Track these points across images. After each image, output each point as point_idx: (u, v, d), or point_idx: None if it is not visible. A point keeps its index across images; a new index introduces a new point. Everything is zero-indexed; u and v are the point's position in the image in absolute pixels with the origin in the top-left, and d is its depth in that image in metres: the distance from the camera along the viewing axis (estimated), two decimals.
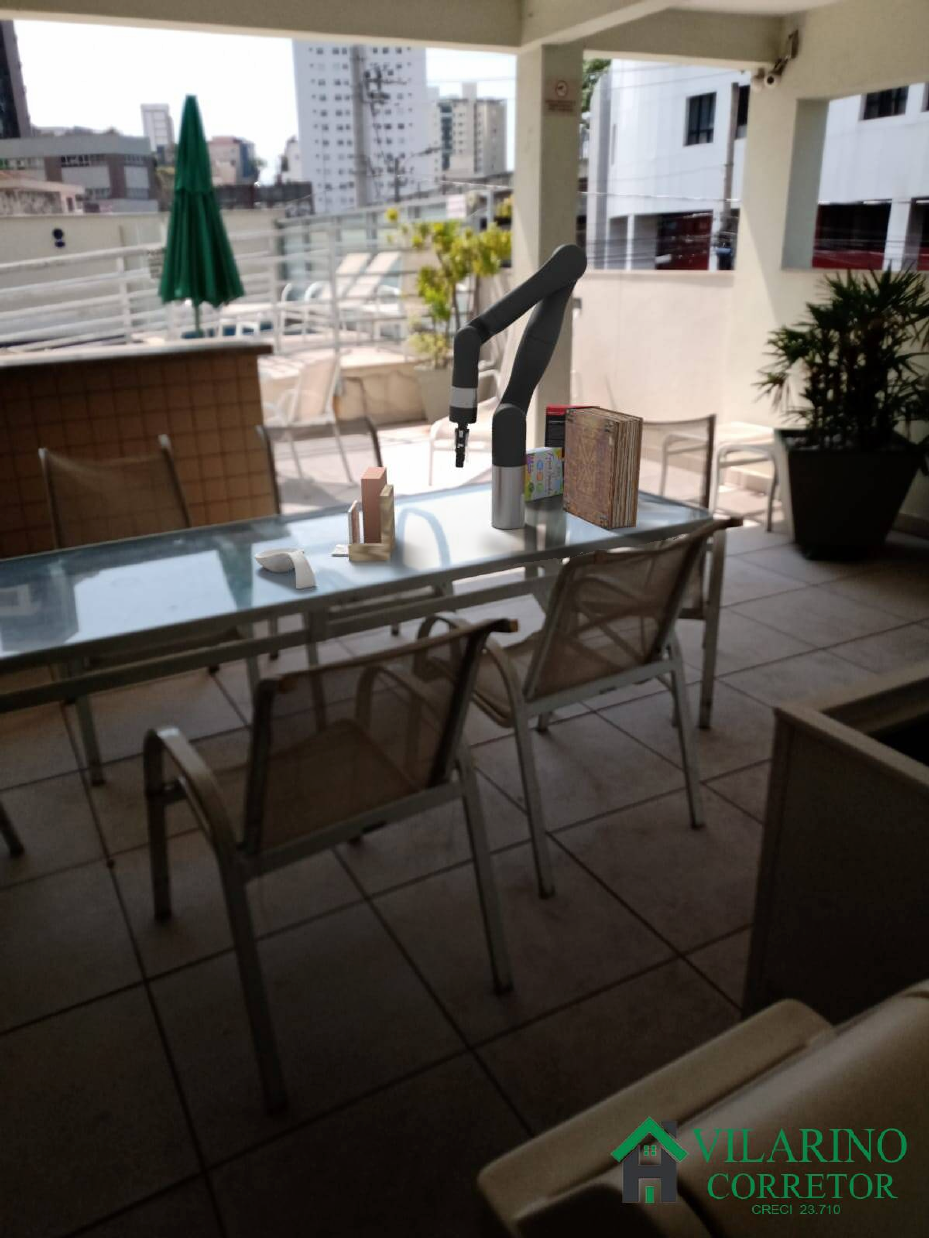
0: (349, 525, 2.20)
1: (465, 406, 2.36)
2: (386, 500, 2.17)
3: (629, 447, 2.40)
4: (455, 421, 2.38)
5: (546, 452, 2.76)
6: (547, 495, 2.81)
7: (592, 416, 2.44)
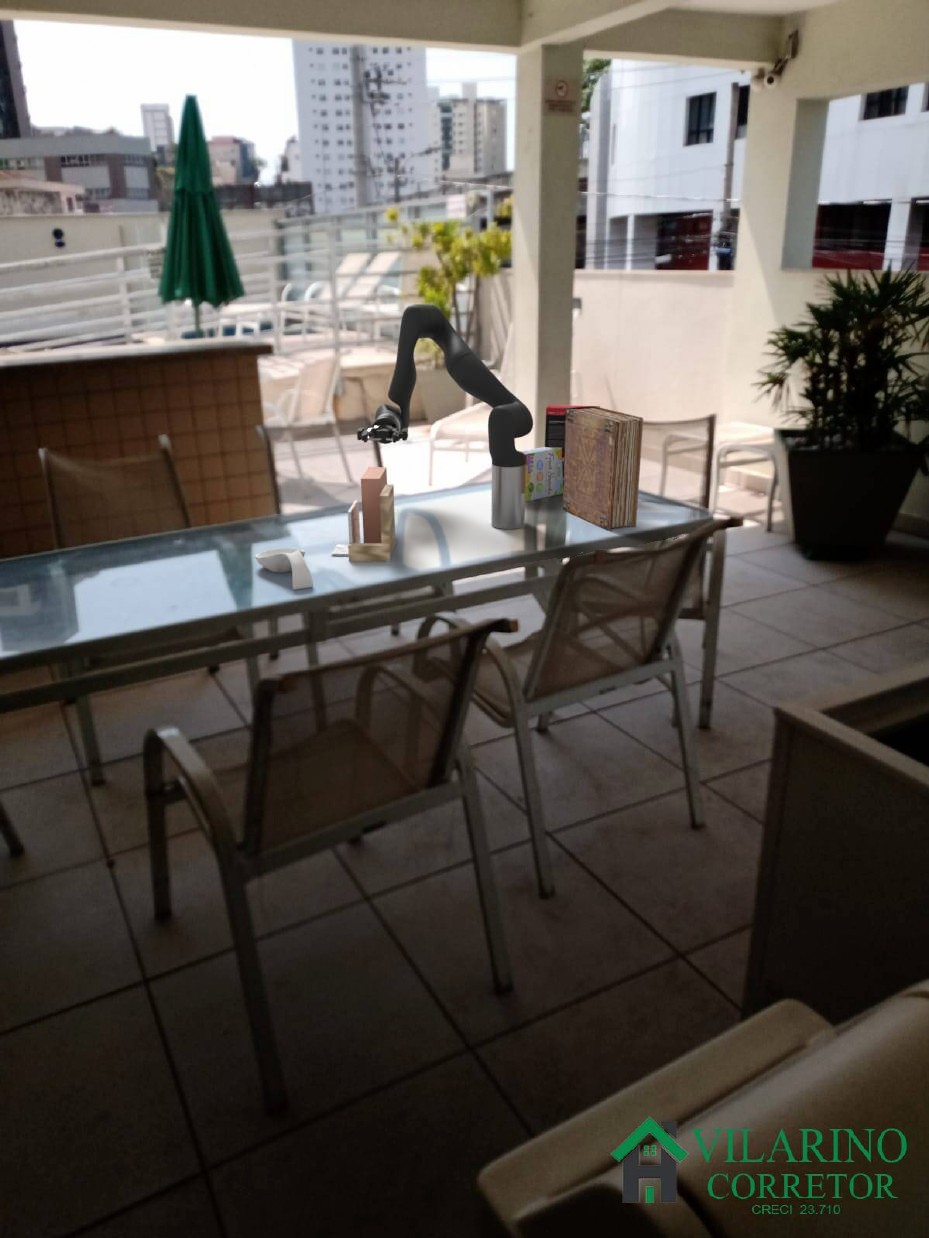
0: (349, 525, 2.20)
1: None
2: (386, 500, 2.17)
3: (629, 447, 2.40)
4: None
5: (546, 452, 2.75)
6: (547, 495, 2.81)
7: (592, 416, 2.44)
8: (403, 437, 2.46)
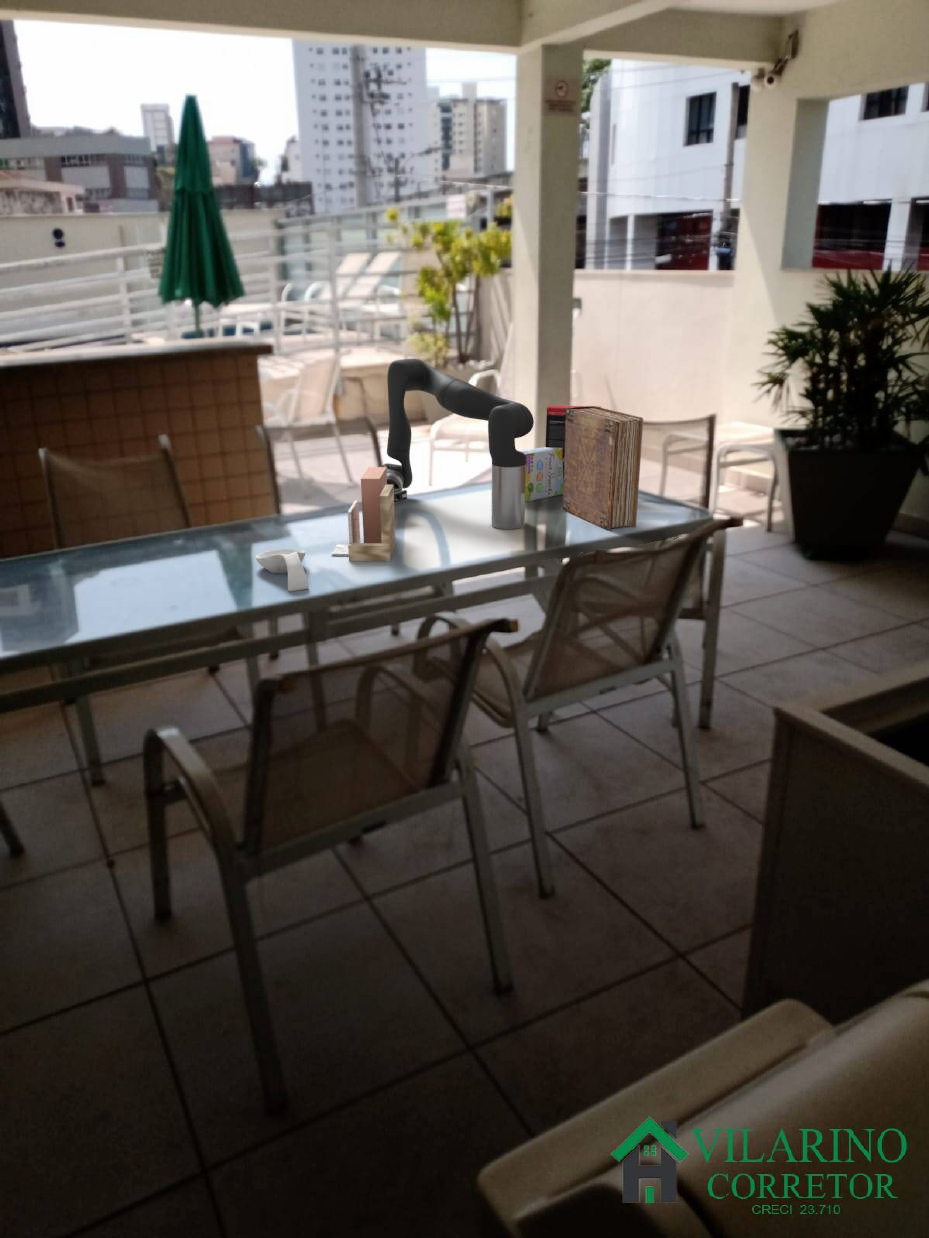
0: (349, 525, 2.20)
1: None
2: (386, 500, 2.17)
3: (629, 447, 2.40)
4: None
5: (546, 453, 2.75)
6: (547, 495, 2.80)
7: (592, 416, 2.44)
8: None
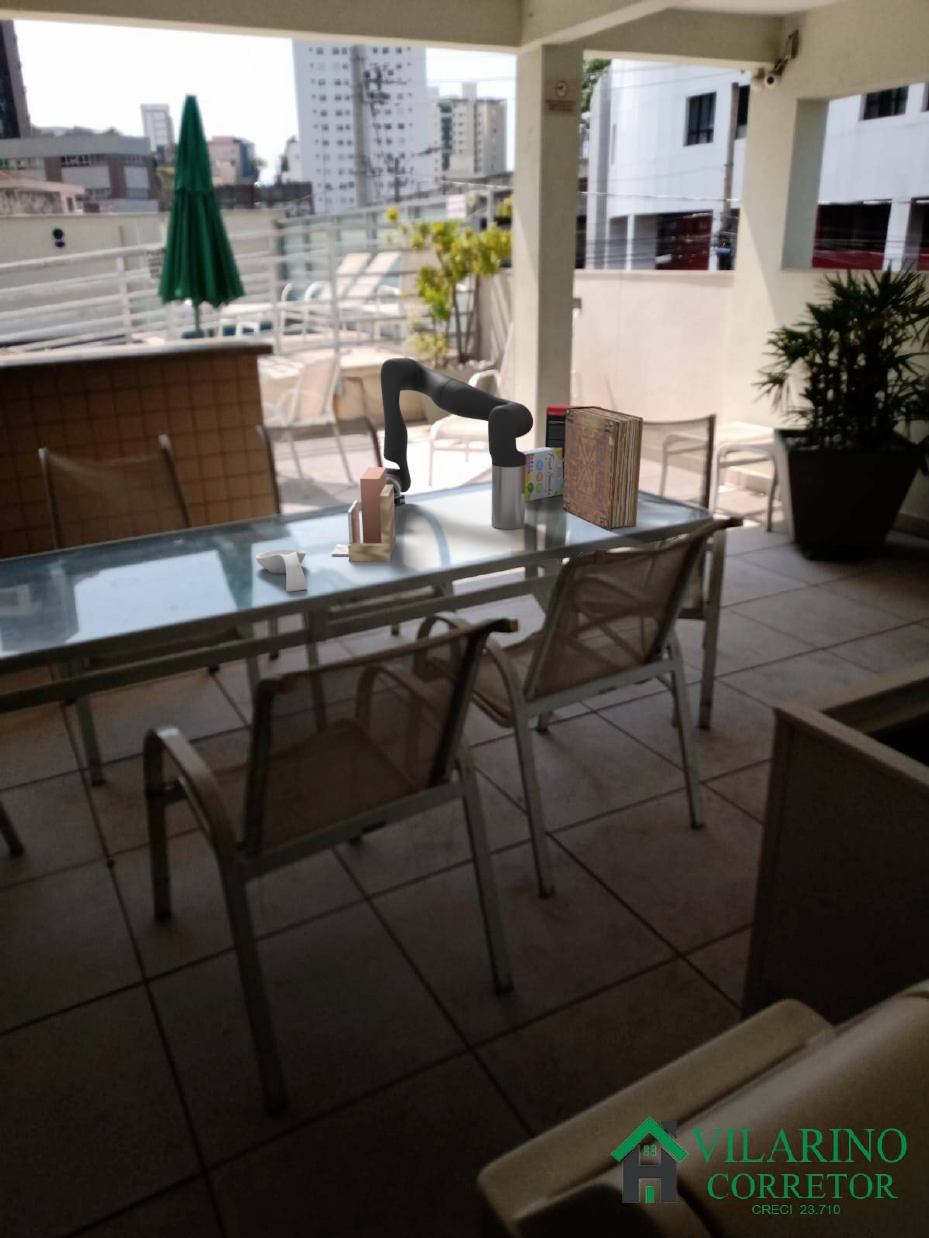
0: (349, 525, 2.20)
1: None
2: (386, 500, 2.17)
3: (629, 447, 2.40)
4: None
5: (546, 453, 2.75)
6: (547, 495, 2.80)
7: (592, 416, 2.44)
8: None
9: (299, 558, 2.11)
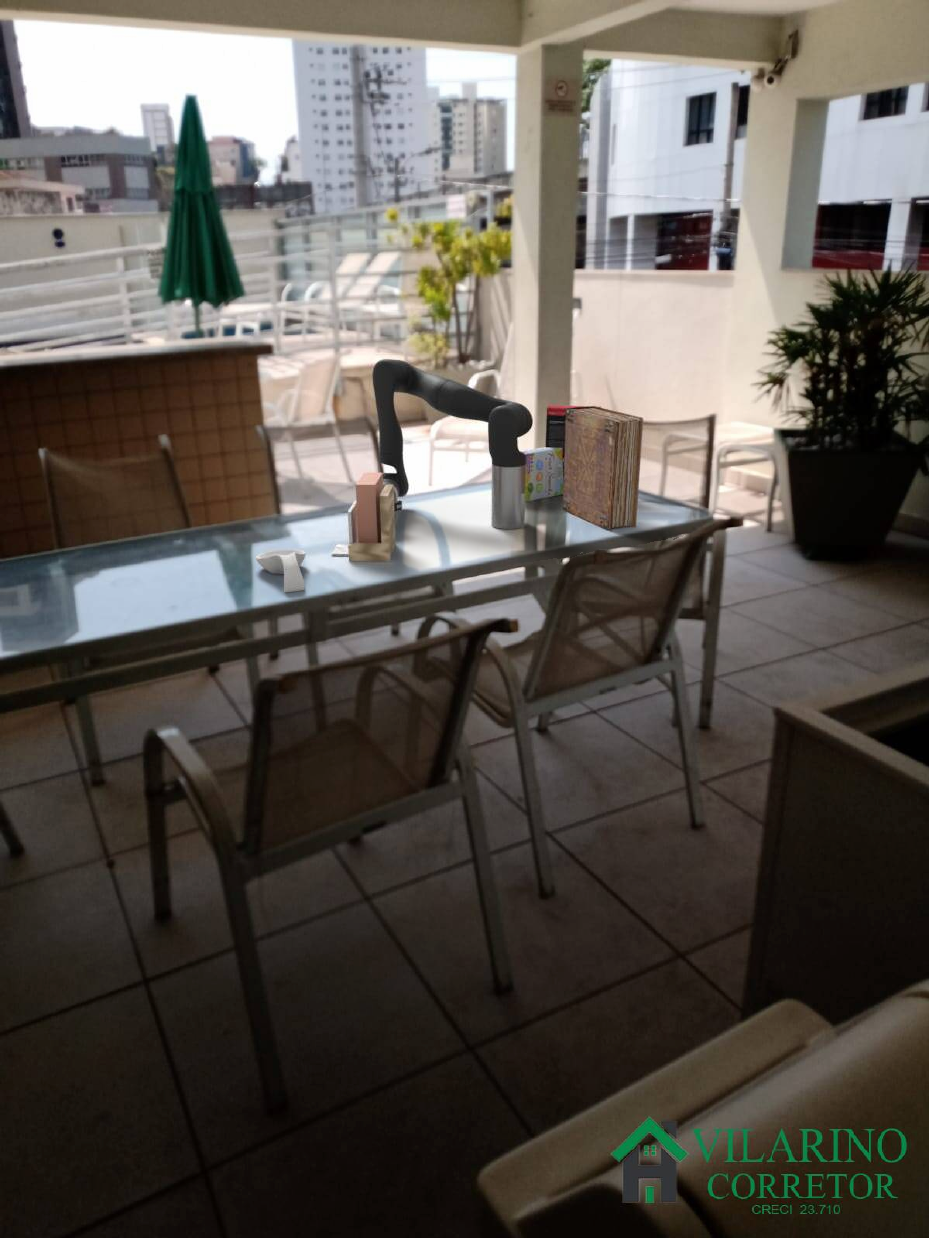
0: (349, 525, 2.20)
1: None
2: (386, 500, 2.17)
3: (629, 447, 2.40)
4: None
5: (546, 453, 2.75)
6: (547, 495, 2.80)
7: (592, 416, 2.44)
8: None
9: (299, 559, 2.10)
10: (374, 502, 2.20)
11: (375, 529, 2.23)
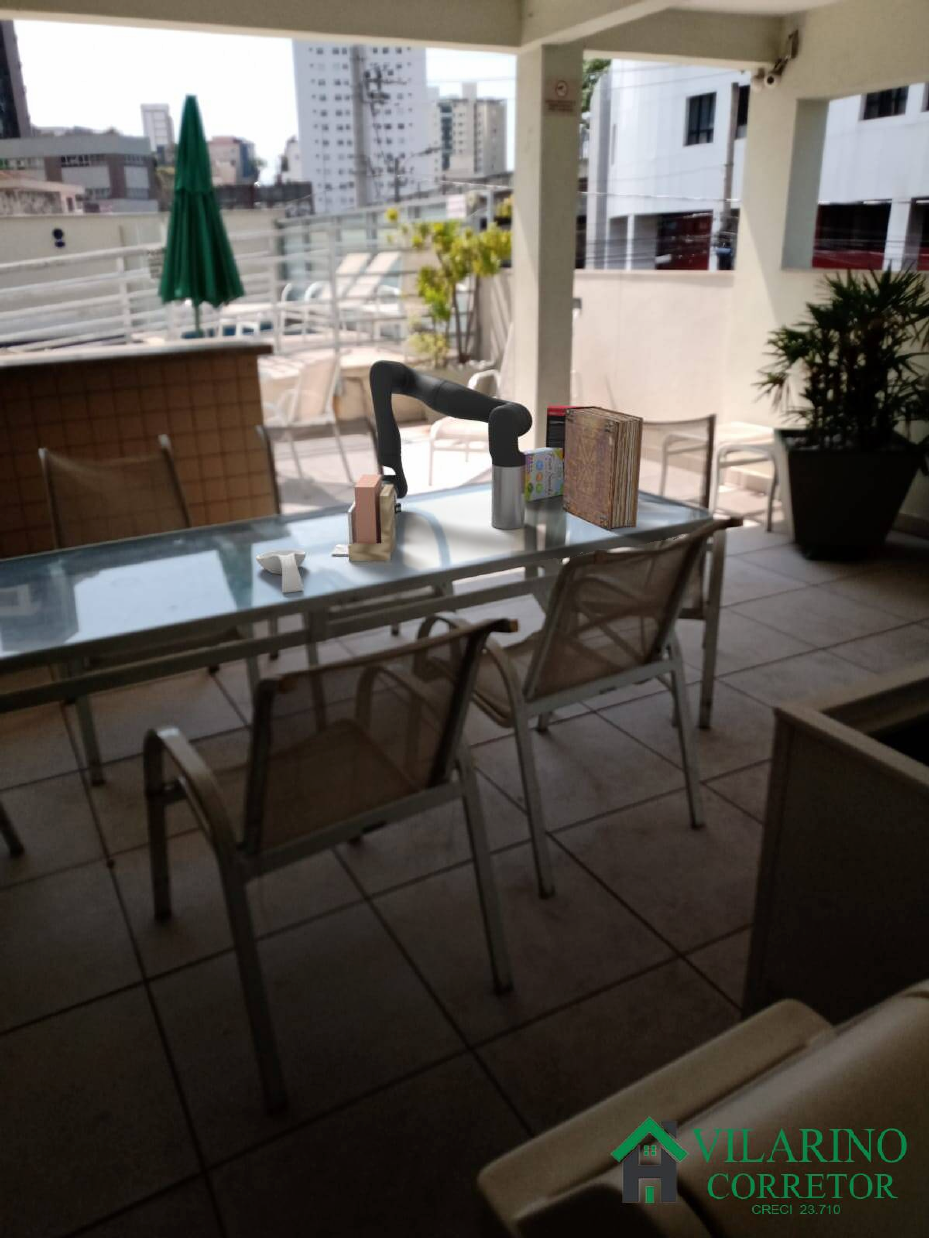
0: (349, 525, 2.20)
1: None
2: (386, 500, 2.17)
3: (629, 447, 2.40)
4: None
5: (546, 453, 2.75)
6: (547, 496, 2.80)
7: (592, 416, 2.44)
8: None
9: (298, 559, 2.10)
10: (373, 504, 2.18)
11: (374, 532, 2.21)
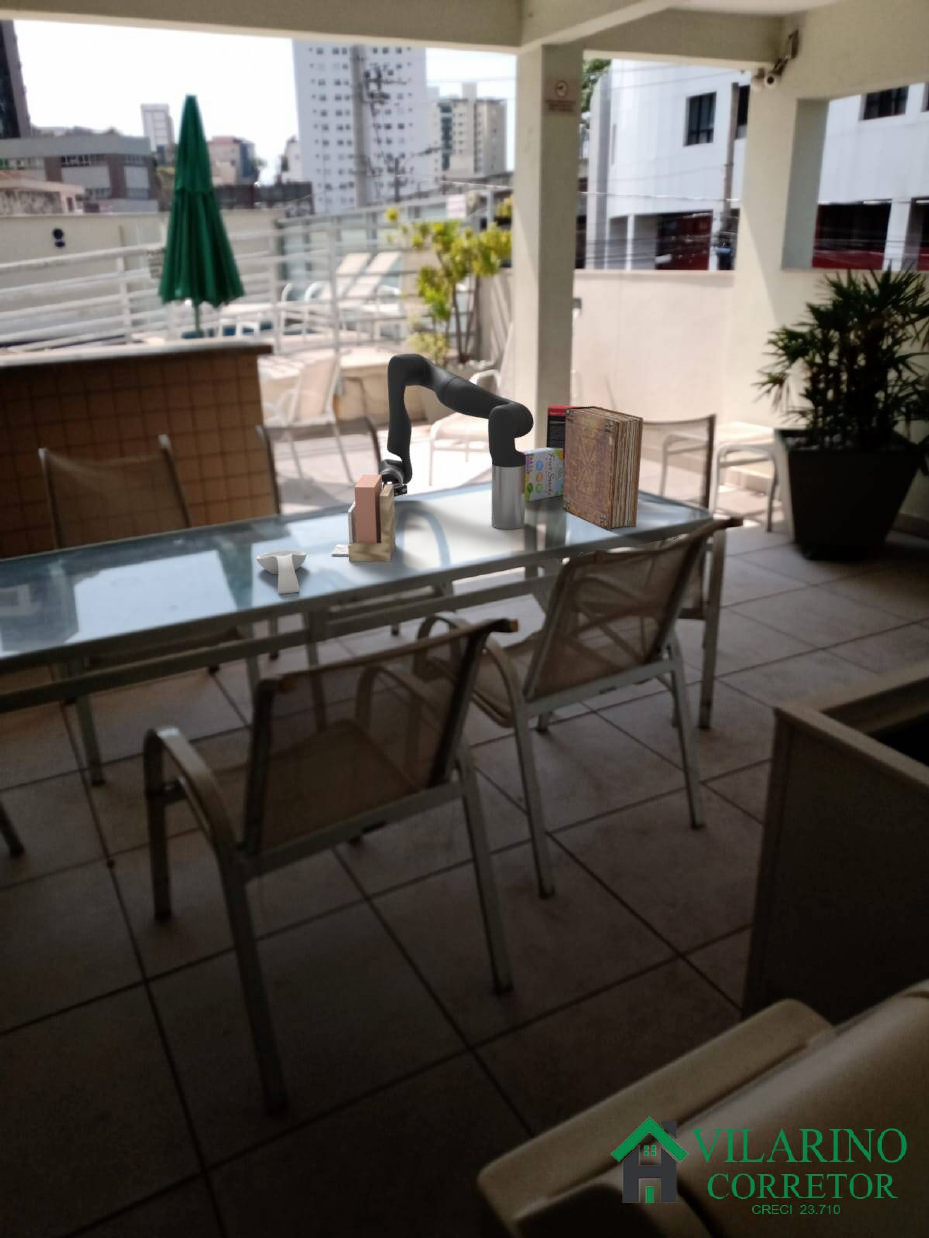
0: (349, 525, 2.20)
1: None
2: (386, 500, 2.17)
3: (629, 447, 2.40)
4: None
5: (546, 453, 2.75)
6: (547, 496, 2.80)
7: (592, 416, 2.44)
8: None
9: (297, 560, 2.09)
10: (373, 505, 2.18)
11: (374, 532, 2.21)
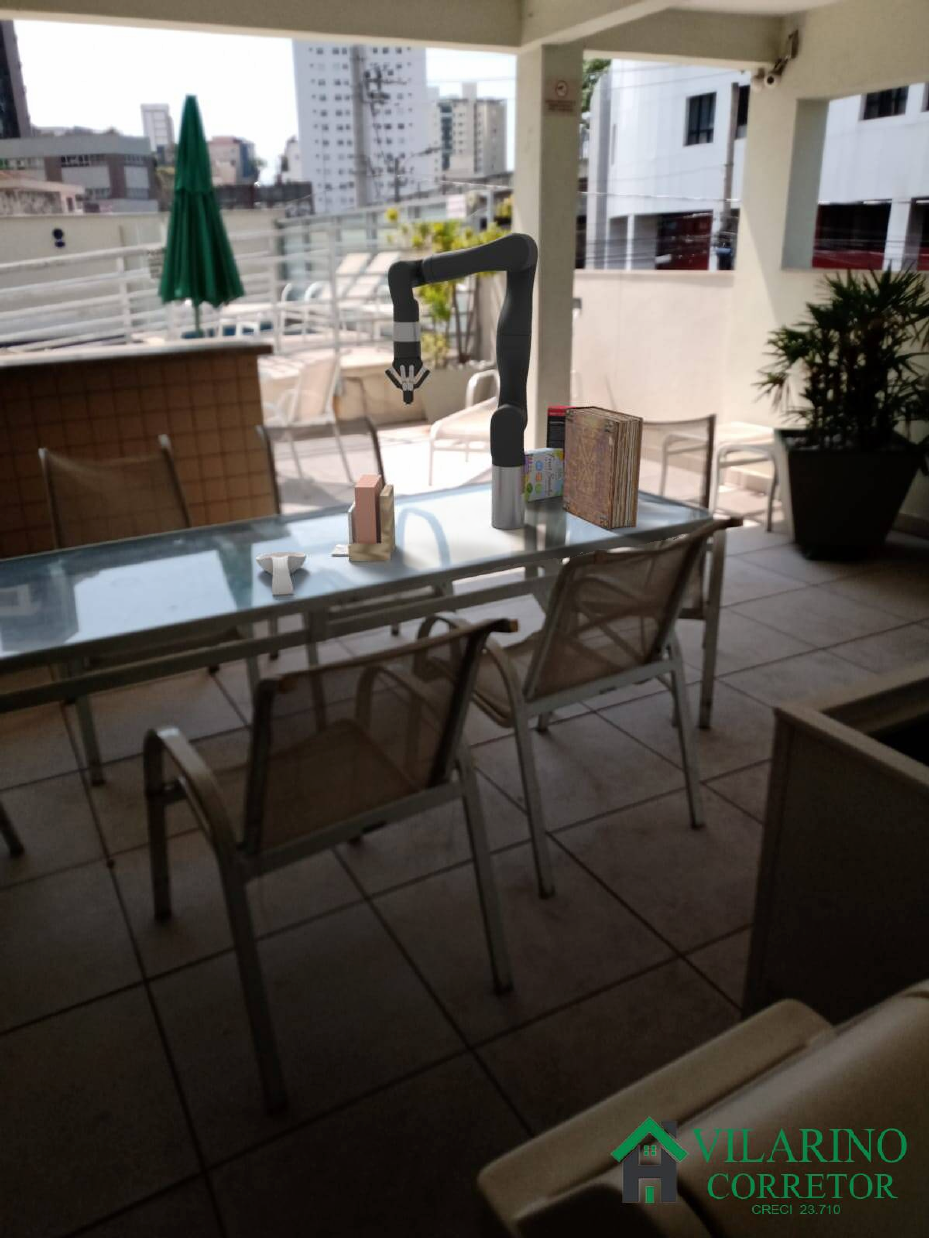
0: (349, 525, 2.20)
1: (393, 339, 2.43)
2: (386, 500, 2.17)
3: (629, 447, 2.40)
4: None
5: (546, 453, 2.74)
6: (547, 496, 2.79)
7: (592, 416, 2.44)
8: None
9: (296, 561, 2.08)
10: (373, 505, 2.18)
11: (374, 532, 2.21)
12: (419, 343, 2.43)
